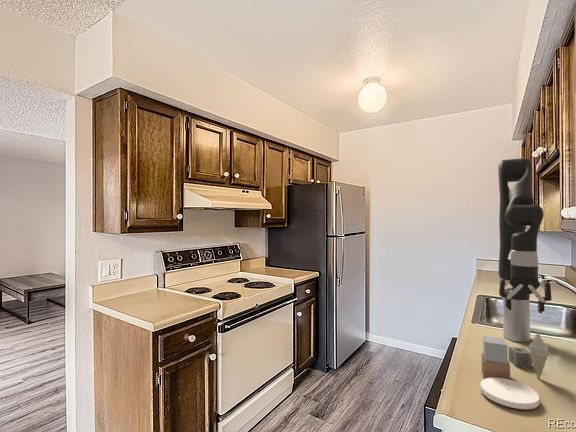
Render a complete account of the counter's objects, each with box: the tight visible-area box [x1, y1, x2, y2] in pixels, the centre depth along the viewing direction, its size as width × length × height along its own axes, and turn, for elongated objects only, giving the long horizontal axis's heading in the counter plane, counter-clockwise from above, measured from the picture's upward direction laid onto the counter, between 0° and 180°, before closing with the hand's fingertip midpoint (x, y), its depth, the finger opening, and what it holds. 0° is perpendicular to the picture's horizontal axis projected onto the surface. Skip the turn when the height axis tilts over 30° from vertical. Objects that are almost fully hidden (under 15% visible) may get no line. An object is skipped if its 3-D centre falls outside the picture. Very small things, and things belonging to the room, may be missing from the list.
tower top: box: [482, 335, 509, 365], centre depth 105 cm, size 6×6×6 cm
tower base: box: [481, 352, 511, 380], centre depth 105 cm, size 7×7×6 cm
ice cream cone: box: [528, 331, 549, 380], centre depth 104 cm, size 5×5×15 cm
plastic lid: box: [479, 378, 540, 410], centre depth 93 cm, size 14×14×2 cm
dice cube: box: [508, 346, 533, 369], centre depth 114 cm, size 5×5×5 cm
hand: (524, 311), depth 111 cm, fingers open, 8 cm apart
